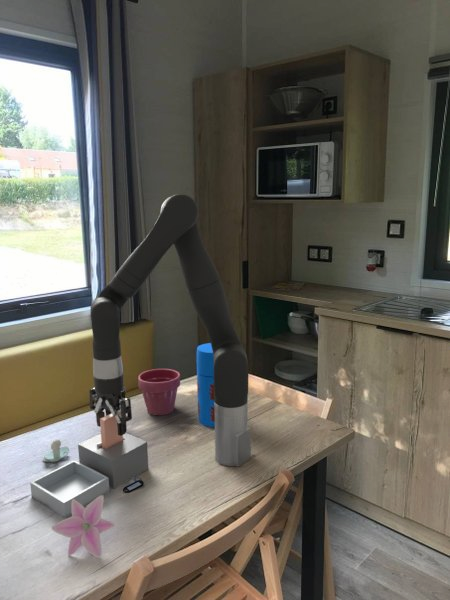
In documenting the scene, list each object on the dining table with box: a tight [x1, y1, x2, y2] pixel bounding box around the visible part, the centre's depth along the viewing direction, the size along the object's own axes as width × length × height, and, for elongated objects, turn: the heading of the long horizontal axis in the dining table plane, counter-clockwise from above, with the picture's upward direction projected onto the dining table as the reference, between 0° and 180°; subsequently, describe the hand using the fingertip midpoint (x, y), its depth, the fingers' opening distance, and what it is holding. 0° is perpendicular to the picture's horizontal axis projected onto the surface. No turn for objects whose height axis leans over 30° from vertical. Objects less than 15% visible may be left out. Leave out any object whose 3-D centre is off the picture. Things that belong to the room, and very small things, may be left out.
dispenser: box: [77, 432, 149, 490], centre depth 135 cm, size 14×12×9 cm
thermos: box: [196, 342, 215, 428], centre depth 162 cm, size 11×11×25 cm
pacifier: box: [42, 439, 70, 463], centre depth 141 cm, size 7×6×6 cm
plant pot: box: [137, 368, 181, 416], centre depth 171 cm, size 14×14×13 cm
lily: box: [51, 495, 116, 559], centre depth 107 cm, size 12×12×10 cm
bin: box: [29, 459, 110, 519], centre depth 124 cm, size 14×13×4 cm
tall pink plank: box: [100, 413, 123, 450], centre depth 133 cm, size 2×6×13 cm, turn 143°
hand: (111, 429), depth 133 cm, fingers open, 8 cm apart
